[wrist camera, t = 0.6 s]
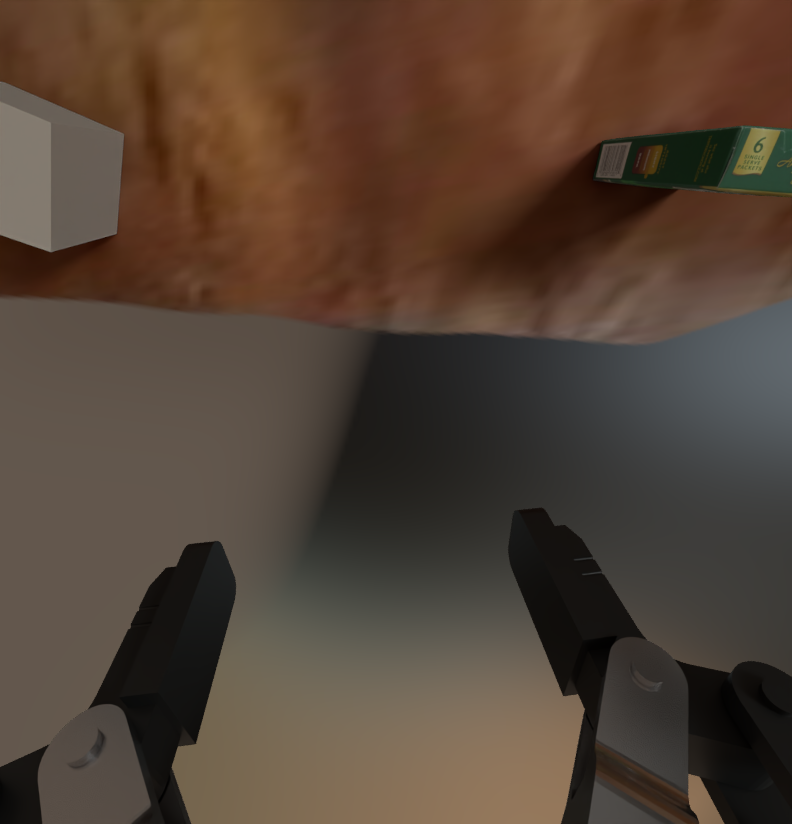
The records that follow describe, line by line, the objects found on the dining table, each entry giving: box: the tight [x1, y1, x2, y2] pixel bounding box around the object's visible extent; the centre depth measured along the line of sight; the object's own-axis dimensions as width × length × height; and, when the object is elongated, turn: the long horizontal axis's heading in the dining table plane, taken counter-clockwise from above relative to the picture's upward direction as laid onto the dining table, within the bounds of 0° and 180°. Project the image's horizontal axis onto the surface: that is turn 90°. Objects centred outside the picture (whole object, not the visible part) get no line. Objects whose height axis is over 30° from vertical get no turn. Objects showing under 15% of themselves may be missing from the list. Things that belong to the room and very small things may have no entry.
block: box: [0, 82, 124, 252], centre depth 24 cm, size 7×7×8 cm
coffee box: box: [593, 126, 792, 197], centre depth 25 cm, size 8×3×13 cm, turn 86°
